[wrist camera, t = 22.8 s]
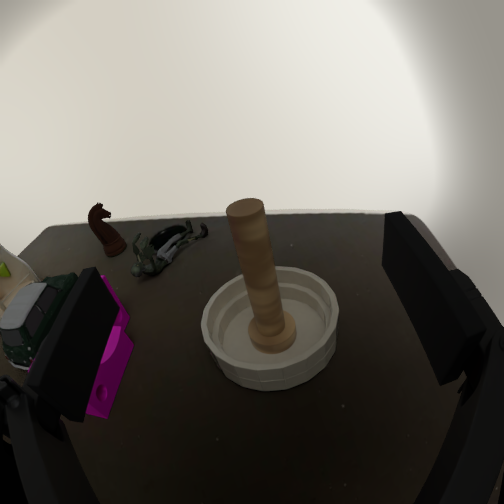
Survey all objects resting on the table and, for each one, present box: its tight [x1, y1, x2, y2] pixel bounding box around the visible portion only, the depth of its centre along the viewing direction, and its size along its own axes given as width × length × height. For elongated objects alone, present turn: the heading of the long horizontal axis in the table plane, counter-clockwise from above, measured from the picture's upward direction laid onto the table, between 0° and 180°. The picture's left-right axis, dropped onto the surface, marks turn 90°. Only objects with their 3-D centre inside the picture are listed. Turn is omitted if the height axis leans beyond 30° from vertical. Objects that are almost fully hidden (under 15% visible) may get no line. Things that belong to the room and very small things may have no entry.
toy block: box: [28, 275, 134, 419], centre depth 29 cm, size 15×6×8 cm, turn 175°
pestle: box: [226, 198, 297, 354], centre depth 26 cm, size 5×5×15 cm
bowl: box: [201, 266, 339, 391], centre depth 29 cm, size 13×13×4 cm
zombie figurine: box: [131, 220, 208, 277], centre depth 45 cm, size 5×7×15 cm
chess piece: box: [88, 203, 126, 257], centre depth 50 cm, size 5×5×10 cm
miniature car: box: [0, 273, 78, 370], centre depth 35 cm, size 9×18×8 cm, turn 0°
